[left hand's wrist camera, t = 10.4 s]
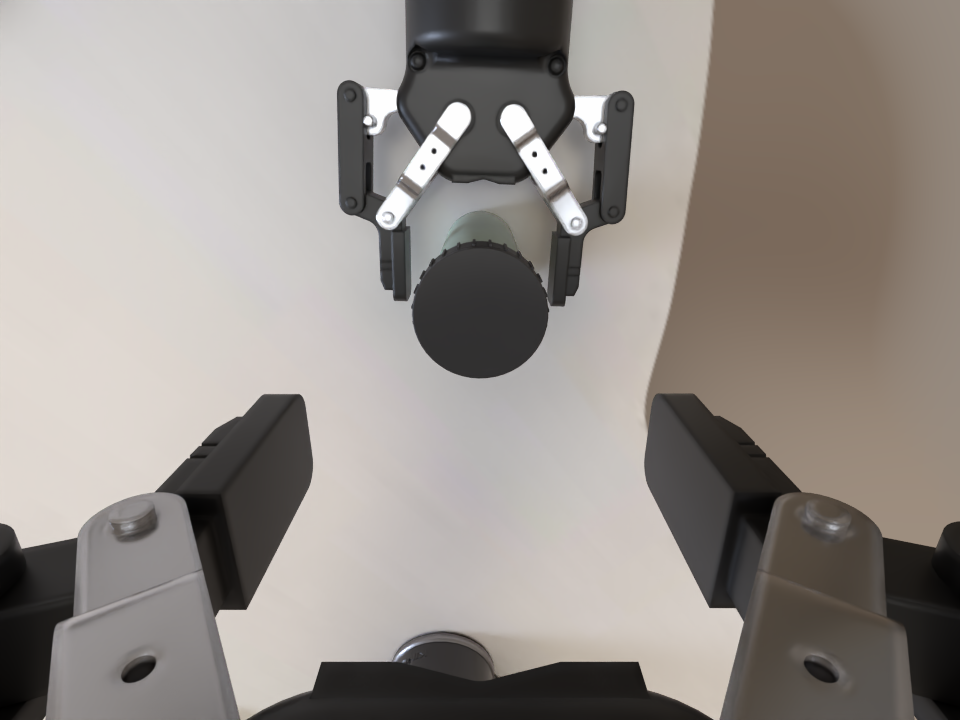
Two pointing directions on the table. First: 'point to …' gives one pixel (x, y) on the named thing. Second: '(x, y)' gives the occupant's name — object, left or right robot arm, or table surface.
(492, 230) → the jar
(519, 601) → the table surface
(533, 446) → the table surface
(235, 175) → the table surface
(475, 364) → the lid
